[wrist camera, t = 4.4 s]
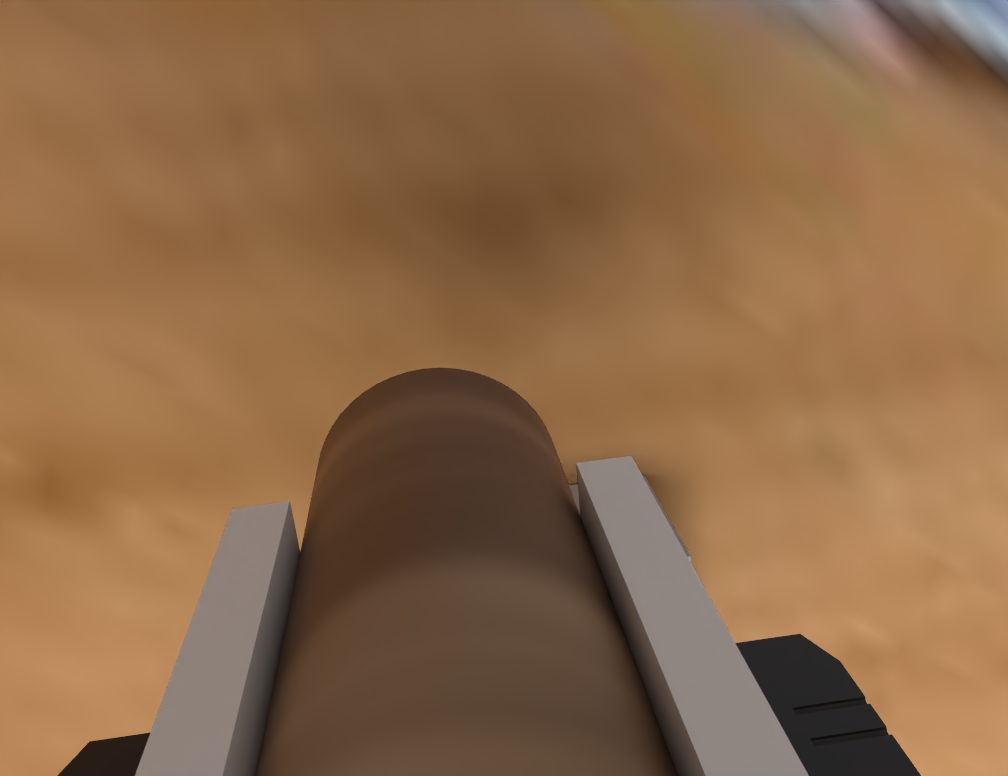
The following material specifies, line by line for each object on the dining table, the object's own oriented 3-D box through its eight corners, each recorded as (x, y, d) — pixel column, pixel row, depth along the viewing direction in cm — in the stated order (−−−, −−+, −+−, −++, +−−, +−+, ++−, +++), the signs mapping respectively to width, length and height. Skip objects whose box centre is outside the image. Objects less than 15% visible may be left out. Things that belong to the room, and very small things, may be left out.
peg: (296, 384, 15) (-48, 1510, 3) (548, 353, 15) (998, 1306, 4) (338, 600, 16) (188, 1894, 5) (566, 568, 16) (928, 1725, 5)
